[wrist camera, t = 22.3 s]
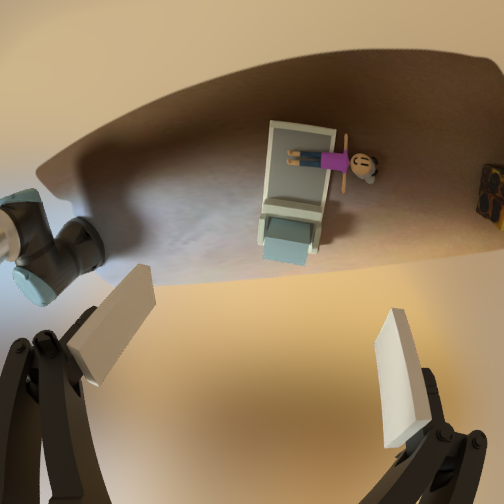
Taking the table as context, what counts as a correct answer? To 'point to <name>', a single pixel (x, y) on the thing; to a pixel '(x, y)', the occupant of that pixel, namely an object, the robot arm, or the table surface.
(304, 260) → the grey-blue block
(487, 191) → the yellow tissue box
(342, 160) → the toy
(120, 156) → the table surface
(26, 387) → the robot arm
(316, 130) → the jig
